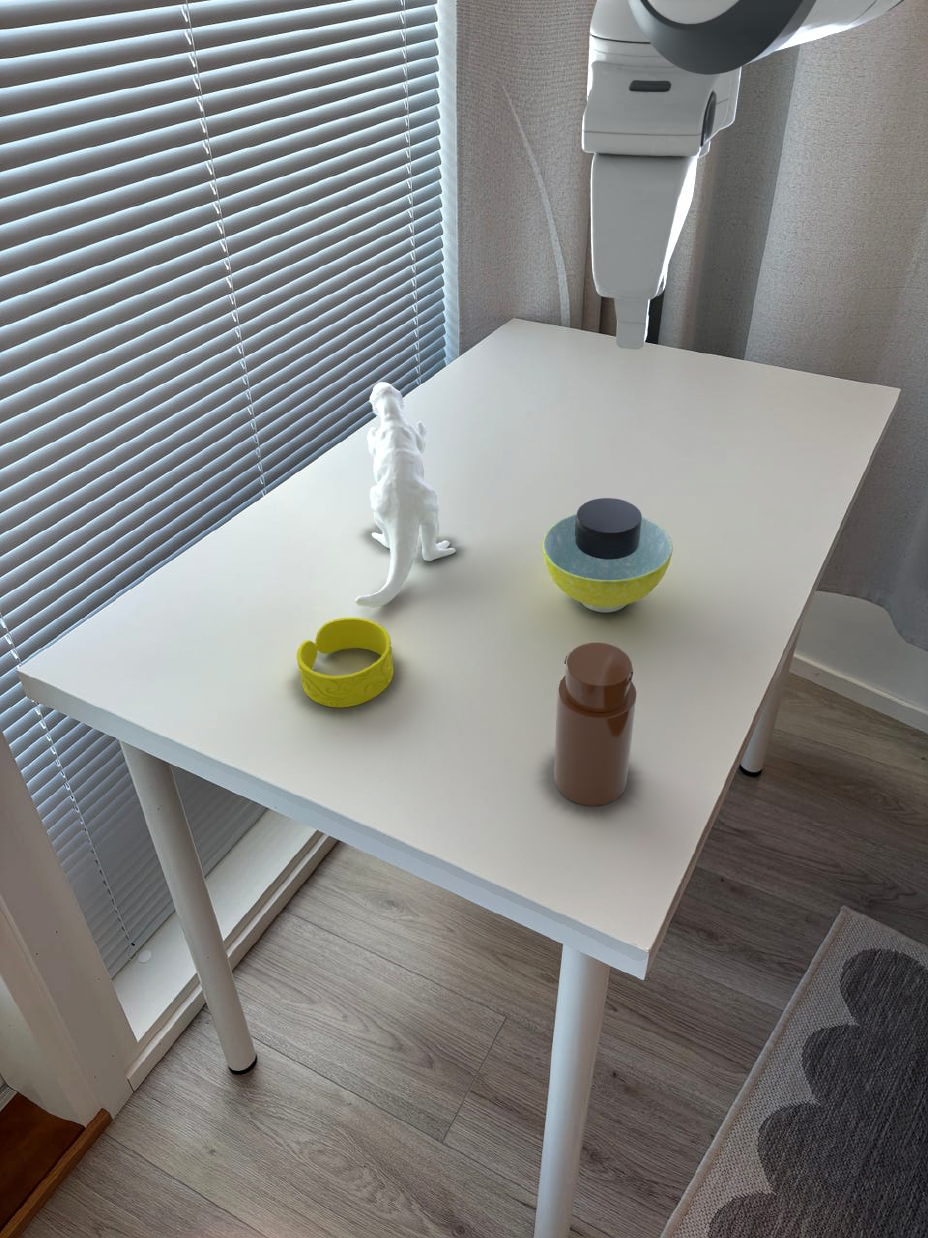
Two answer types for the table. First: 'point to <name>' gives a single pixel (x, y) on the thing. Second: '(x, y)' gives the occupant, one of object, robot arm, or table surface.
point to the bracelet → (353, 685)
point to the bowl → (606, 567)
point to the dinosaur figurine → (400, 493)
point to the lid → (608, 528)
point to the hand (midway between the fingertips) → (641, 317)
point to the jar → (594, 724)
